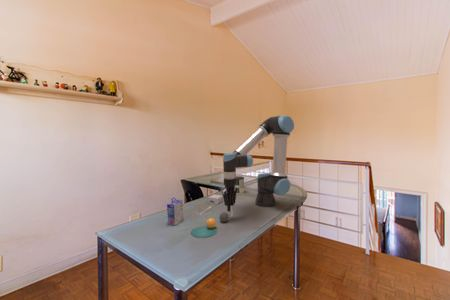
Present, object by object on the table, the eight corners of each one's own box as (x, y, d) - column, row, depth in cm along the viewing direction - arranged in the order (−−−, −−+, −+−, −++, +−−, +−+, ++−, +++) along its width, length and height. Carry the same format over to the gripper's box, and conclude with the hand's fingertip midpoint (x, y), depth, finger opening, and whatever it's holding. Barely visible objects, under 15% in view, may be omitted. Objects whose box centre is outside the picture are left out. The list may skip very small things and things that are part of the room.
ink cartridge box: (176, 218, 138) (175, 195, 137) (184, 219, 136) (183, 196, 135) (167, 224, 129) (166, 200, 128) (175, 225, 127) (174, 200, 126)
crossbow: (208, 218, 141) (208, 215, 141) (191, 215, 146) (191, 212, 146) (219, 209, 156) (218, 206, 155) (203, 206, 161) (203, 204, 161)
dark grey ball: (220, 212, 129) (219, 222, 128) (229, 213, 129) (228, 223, 128) (219, 211, 134) (218, 220, 134) (228, 212, 134) (227, 221, 134)
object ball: (210, 215, 122) (205, 223, 119) (218, 220, 121) (213, 229, 118) (208, 217, 126) (203, 225, 123) (216, 223, 126) (211, 231, 123)
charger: (226, 199, 179) (217, 204, 165) (215, 198, 183) (207, 203, 169) (225, 193, 179) (217, 198, 165) (215, 192, 183) (206, 197, 169)
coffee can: (233, 194, 193) (233, 178, 192) (232, 191, 203) (232, 176, 202) (245, 194, 194) (245, 178, 193) (243, 191, 204) (243, 176, 203)
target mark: (216, 225, 125) (216, 225, 125) (217, 236, 112) (217, 236, 111) (191, 227, 124) (191, 226, 124) (189, 238, 110) (189, 238, 110)
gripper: (231, 175, 141) (231, 211, 143) (218, 179, 131) (218, 217, 133) (240, 177, 137) (241, 214, 138) (227, 180, 127) (228, 220, 128)
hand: (230, 215), depth 135 cm, fingers closed
